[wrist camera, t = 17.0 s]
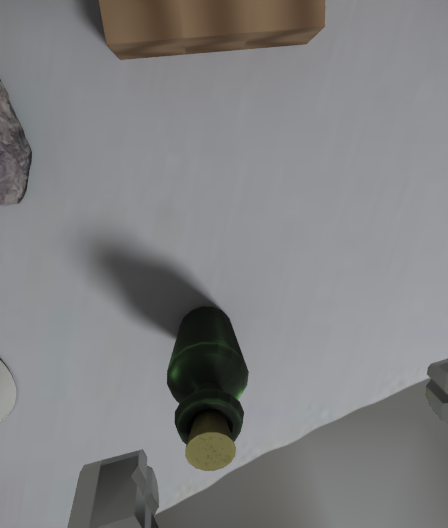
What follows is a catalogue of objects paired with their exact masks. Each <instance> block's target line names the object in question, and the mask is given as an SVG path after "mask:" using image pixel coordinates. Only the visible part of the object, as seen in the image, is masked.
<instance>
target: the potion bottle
mask: <svg viewBox="0 0 448 528" xmlns="http://www.w3.org/2000/svg"><path fill="white" fill-rule="evenodd" d="M247 381H248V369H247V366H246V363H245V361H244V358H243V355H242V352H241V350H240V347H239V344H238V341H237V338H236V336H235V333H234V330H233V327H232V325H231V322H230V319H229V318H228V316H227V315H226V314H225V313H224V312H223V311H220V310H218V309H216V308H213V307H201V308H198V309H195V310H192V311H191V312H190V313H189V314H187V315H186V316H185V317H184V319H183V321H182V323H181V325H180V328H179V332H178V335H177V339H176V342H175V346H174V349H173V353H172V356H171V360H170V363H169V367H168V370H167V385H168V387H169V389H170V391H171V393H172V395H173V397H174V398H175V399H176V401H177V402H179V403H180V404H179V406H178V408H177V409H176V411H175V425H176V428H177V431H178V433H179V435H180V437H181V439H182V441H183V442H184V443H185V444H187V446H186V453H185V456H186V458H187V460H188V462H189V463H190V464H191V465H192V466H194V467H195V468H197V469H201V470H204V471H214V470H218V469H221V468H224V467H225V466H226V465H228V464H229V463H231V461H232V460H233V458H234V457H235V452H236V447H235V444H234V441H235V440H236V438H237V437H238V435H239V434H240V432H241V428H242V424H243V416H244V411H243V409H242V406H241V404H240V402H239V401H238V399H239V397H240V396H241V394H242V393H243V391H244V389H245V388H246V386H247Z"/></svg>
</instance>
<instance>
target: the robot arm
mask: <svg viewBox="0 0 448 528" xmlns="http://www.w3.org/2000/svg"><path fill="white" fill-rule="evenodd" d="M427 375H428V376H429V377H430V378H431V380H430V381H429V382H428V384H427V385H426V397H427V400H428V403H429V405H430V407H431V408H432V410H433V411H434V412H435V414H436V415H437V416H438V417H439V418H440V419H441V420H442V421H445V422H447V423H448V359H445V360H441V361H438V362H435V363H432V364H430V366H429V367H428V371H427ZM15 400H16V387H15V383H14V380H13V378H12V375H11V373H10V372H9V370H8V369H7V367H6V366H5V365H4V364H3V362H2V361H1V360H0V422H1V421H3V420H4V419H5V418H6V417H7V416H8V415H9V413H10V412H11V410H12V409H13V406H14V404H15ZM158 507H159V494H158V486H157V480H156V476H155V473H154V471H153V469H152V467H149V466H147V456H146V454H145V452H144V450H143V449H142V450H138V451H135V452H131V453H127V454H123V455H120V456H116V457H112V458H108V459H104V460H101V461H97V462H94V463H90V464H87V465H84V466H83V468H82V470H81V472H80V475H79V479H78V483H77V488H76V492H75V497H74V501H73V506H72V510H71V514H70V519H69V523H68V528H159V526H158V524H157V522H156V520H155V518H154V515H155V513H156V511H157V509H158Z"/></svg>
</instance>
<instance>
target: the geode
mask: <svg viewBox="0 0 448 528" xmlns="http://www.w3.org/2000/svg"><path fill="white" fill-rule="evenodd" d="M31 159H32V151H31V149H30V146H29V144H28V142H27V140H26V138H25V135H24V131H23V129H22V127H21V125H20V123H19V121H18V119H17V117H16V114H15V112H14V110H13V108H12V106H11V104H10V101H9V97H8V93H7V92H6V90H5V88H4V87H3V84H2V82H1V80H0V205H11V204H17V203H20V201H21V200H22V199H23V197H24V195H25V193H26V190H27V183H28V176H29V169H30V165H31Z"/></svg>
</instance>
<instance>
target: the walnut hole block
mask: <svg viewBox="0 0 448 528" xmlns="http://www.w3.org/2000/svg"><path fill="white" fill-rule="evenodd" d="M99 5H100V11H101V17H102V22H103V28H104V33H105V39H106V44H107V46H108V47H109V48H110V49H111V50H112V51H113V52H114V53H115V54H116V56H117V57H118V58H119V59H120V60H124V59H136V58H148V57H159V56H171V55H183V54H195V53H207V52H219V51H231V50H243V49H255V48H267V47H278V46H290V45H302V44H307V43H308V42H309V41H310V40H311V39H312V38H313V37H314V36H315V35H317V34H318V33H319V32H320V31H321V30H322V29H323V28H324V27H325V0H99Z"/></svg>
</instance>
